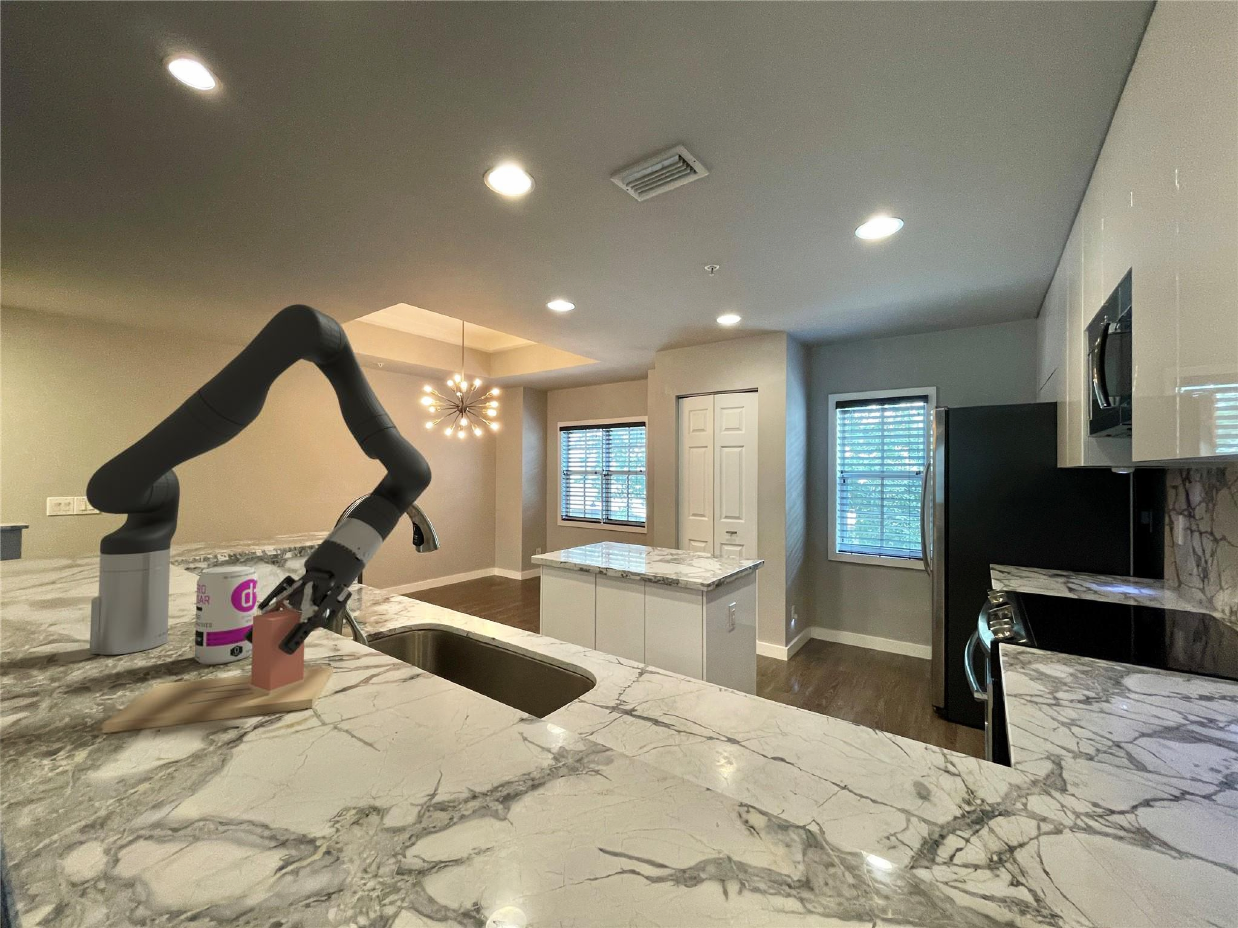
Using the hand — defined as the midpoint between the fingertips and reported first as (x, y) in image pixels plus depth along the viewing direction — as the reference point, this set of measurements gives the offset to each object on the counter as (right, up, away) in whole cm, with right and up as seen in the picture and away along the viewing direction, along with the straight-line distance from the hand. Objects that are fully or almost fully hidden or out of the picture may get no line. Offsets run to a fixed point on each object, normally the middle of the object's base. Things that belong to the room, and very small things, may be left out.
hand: (266, 646), depth 70 cm
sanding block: (+1, -6, +1) cm, 6 cm away
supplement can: (-18, -8, +16) cm, 25 cm away
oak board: (-4, -7, -1) cm, 8 cm away
